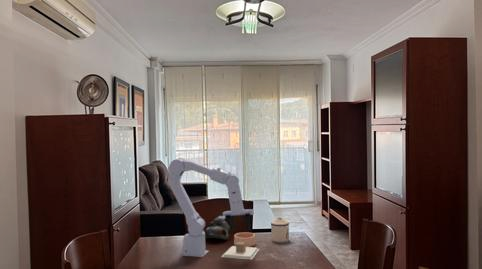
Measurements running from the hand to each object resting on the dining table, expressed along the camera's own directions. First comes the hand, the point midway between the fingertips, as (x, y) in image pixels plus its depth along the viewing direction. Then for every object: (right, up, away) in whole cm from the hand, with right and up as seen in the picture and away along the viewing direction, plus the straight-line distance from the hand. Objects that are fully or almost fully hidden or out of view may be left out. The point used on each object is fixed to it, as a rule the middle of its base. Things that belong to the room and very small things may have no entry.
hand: (241, 231), depth 162 cm
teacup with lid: (+20, -10, +21) cm, 30 cm away
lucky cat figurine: (-12, -11, +24) cm, 29 cm away
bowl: (+2, -10, +14) cm, 17 cm away
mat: (0, -10, +1) cm, 10 cm away
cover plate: (0, -10, +1) cm, 10 cm away
